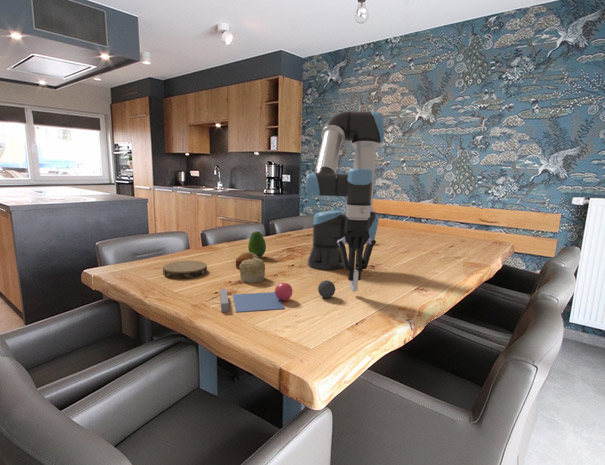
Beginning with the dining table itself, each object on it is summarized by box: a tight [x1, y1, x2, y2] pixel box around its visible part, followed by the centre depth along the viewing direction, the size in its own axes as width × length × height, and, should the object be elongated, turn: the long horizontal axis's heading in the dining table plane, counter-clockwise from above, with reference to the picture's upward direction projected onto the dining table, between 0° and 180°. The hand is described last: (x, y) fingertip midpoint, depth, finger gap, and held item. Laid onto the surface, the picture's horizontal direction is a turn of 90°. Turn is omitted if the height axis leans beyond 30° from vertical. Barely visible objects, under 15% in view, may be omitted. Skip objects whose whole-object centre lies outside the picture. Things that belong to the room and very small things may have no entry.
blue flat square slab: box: [232, 291, 286, 313], centre depth 107 cm, size 14×14×1 cm
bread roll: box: [235, 251, 259, 270], centre depth 145 cm, size 10×10×8 cm
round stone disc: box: [162, 260, 208, 280], centre depth 135 cm, size 16×16×3 cm
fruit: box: [247, 230, 267, 258], centre depth 160 cm, size 8×8×12 cm
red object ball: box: [274, 282, 294, 302], centre depth 109 cm, size 6×6×6 cm
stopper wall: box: [219, 288, 230, 313], centre depth 105 cm, size 2×12×2 cm, turn 15°
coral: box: [238, 257, 266, 284], centre depth 129 cm, size 9×9×8 cm
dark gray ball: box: [317, 280, 336, 299], centre depth 112 cm, size 6×6×6 cm
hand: (353, 289), depth 115 cm, fingers closed
